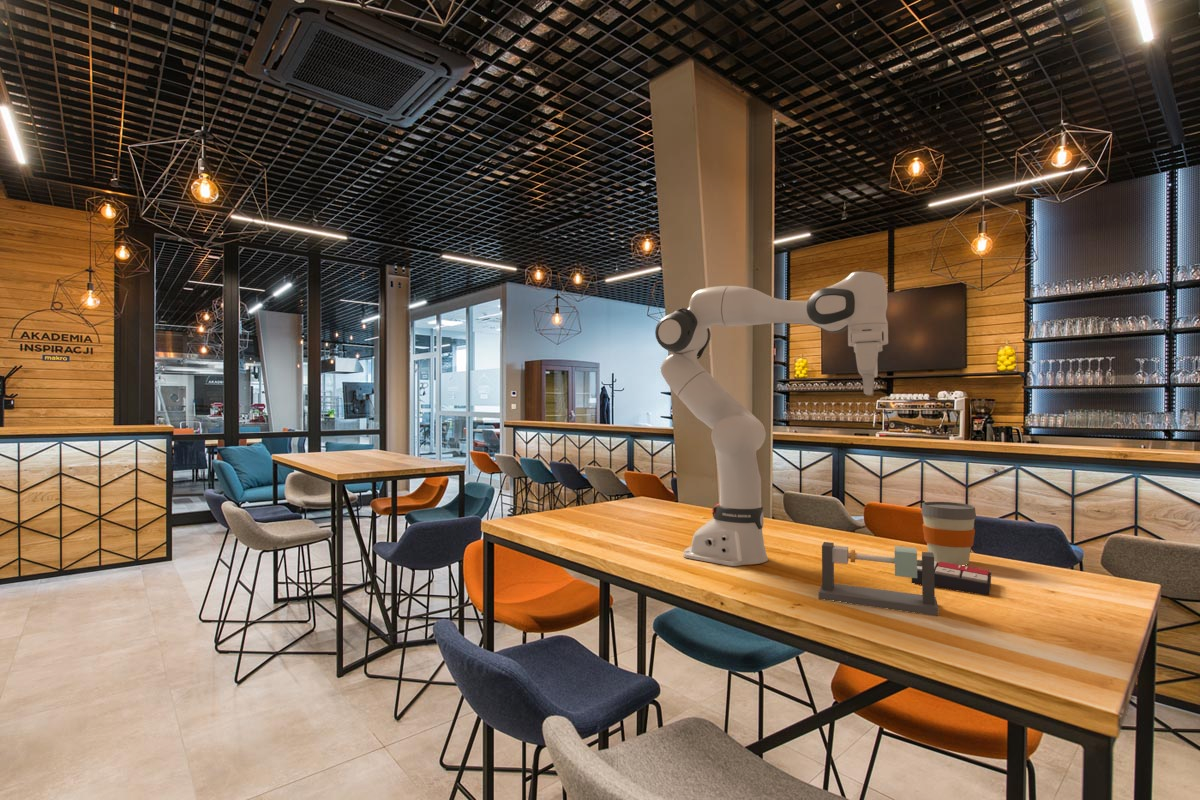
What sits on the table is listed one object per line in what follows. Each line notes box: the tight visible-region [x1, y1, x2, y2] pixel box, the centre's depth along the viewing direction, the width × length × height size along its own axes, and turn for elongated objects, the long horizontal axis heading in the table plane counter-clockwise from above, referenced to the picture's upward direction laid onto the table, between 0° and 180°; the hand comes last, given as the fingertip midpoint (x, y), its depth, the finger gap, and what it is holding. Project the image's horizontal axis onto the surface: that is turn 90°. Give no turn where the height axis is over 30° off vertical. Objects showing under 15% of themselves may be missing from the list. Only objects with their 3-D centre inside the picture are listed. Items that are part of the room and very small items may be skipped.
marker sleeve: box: [894, 545, 918, 579], centre depth 118 cm, size 4×5×5 cm
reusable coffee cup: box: [920, 501, 977, 565], centre depth 152 cm, size 13×13×15 cm
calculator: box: [911, 558, 992, 596], centre depth 133 cm, size 11×4×15 cm
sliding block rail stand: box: [818, 541, 939, 617], centre depth 120 cm, size 22×8×11 cm, turn 63°
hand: (868, 394), depth 138 cm, fingers open, 8 cm apart
